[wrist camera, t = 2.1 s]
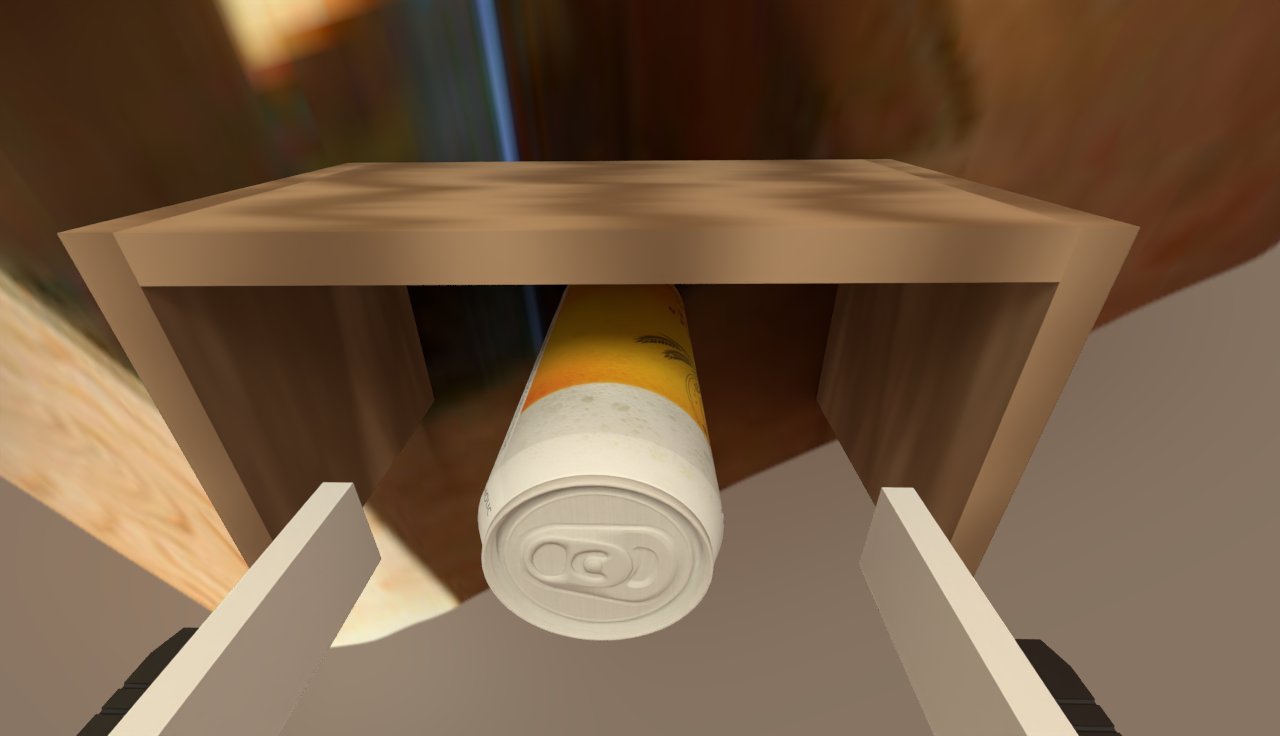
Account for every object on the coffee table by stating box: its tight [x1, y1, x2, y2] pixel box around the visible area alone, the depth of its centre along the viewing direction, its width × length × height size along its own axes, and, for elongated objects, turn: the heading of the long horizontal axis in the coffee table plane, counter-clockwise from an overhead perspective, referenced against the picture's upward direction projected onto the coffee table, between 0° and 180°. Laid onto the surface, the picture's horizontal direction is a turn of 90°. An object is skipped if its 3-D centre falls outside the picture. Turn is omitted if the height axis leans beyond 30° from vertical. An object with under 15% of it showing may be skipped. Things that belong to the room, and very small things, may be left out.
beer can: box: [478, 284, 725, 641], centre depth 18 cm, size 6×6×15 cm
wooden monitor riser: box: [57, 159, 1140, 577], centre depth 19 cm, size 23×12×12 cm, turn 90°
